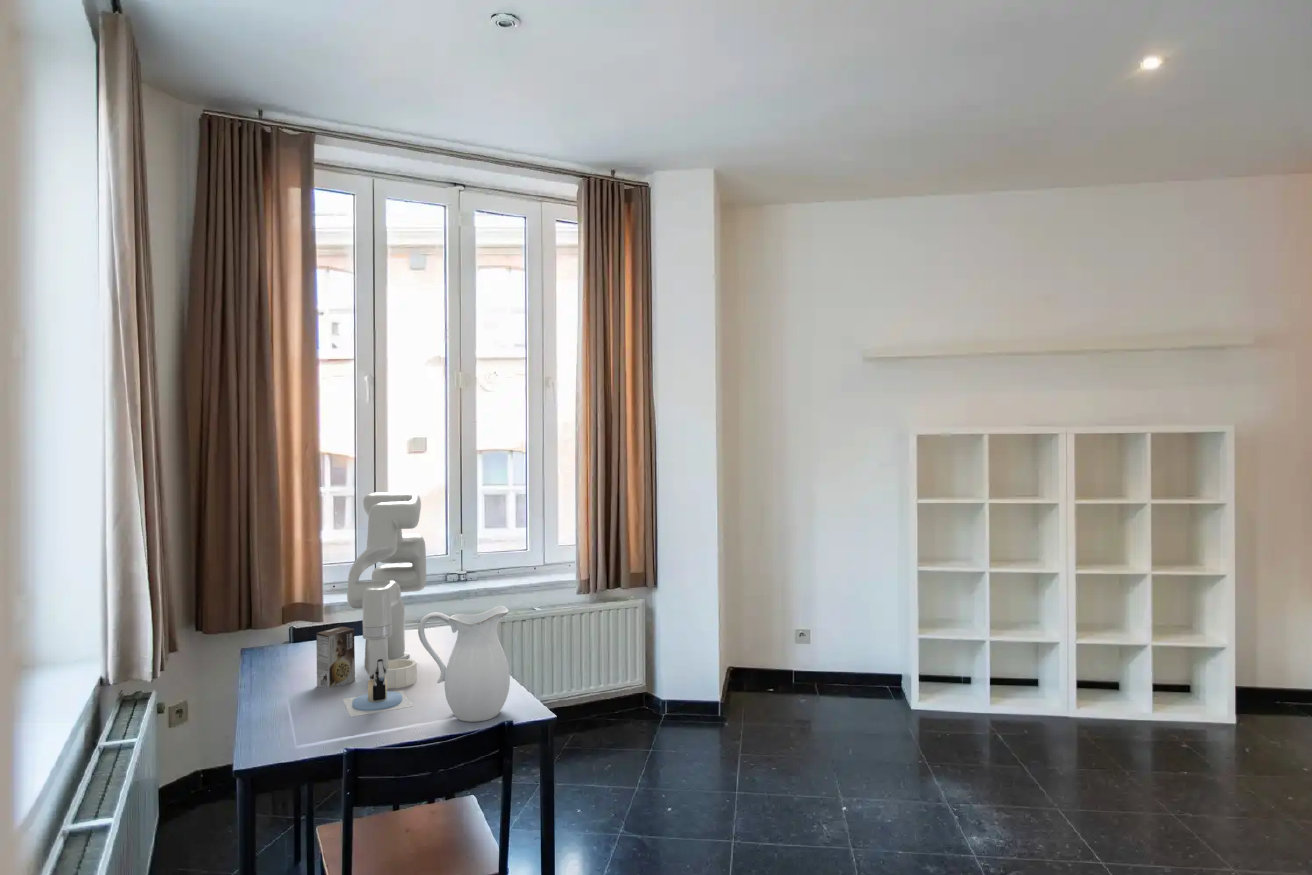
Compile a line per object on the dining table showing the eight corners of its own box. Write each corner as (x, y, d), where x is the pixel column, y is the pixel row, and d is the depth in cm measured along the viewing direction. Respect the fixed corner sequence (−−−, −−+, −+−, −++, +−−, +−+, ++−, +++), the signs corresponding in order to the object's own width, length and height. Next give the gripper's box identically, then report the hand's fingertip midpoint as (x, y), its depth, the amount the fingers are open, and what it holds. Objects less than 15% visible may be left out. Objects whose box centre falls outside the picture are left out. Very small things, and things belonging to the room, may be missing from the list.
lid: (349, 699, 213) (349, 678, 213) (397, 691, 219) (397, 671, 219) (355, 714, 201) (355, 691, 202) (406, 705, 208) (406, 683, 208)
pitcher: (514, 703, 211) (513, 603, 211) (504, 725, 194) (503, 616, 194) (427, 704, 210) (427, 604, 210) (410, 727, 193) (409, 618, 193)
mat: (343, 701, 213) (343, 698, 213) (401, 691, 221) (401, 689, 221) (350, 719, 199) (350, 716, 199) (413, 708, 207) (412, 706, 207)
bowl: (374, 682, 230) (374, 662, 230) (412, 676, 236) (412, 657, 236) (380, 692, 221) (380, 671, 221) (419, 686, 226) (419, 666, 226)
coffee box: (342, 677, 235) (341, 625, 235) (355, 681, 231) (355, 628, 232) (315, 686, 227) (315, 632, 227) (329, 689, 224) (329, 634, 224)
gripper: (358, 626, 216) (358, 689, 216) (367, 639, 201) (367, 708, 201) (386, 623, 220) (386, 685, 220) (396, 636, 205) (397, 703, 205)
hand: (377, 695), depth 210 cm, fingers open, 5 cm apart
